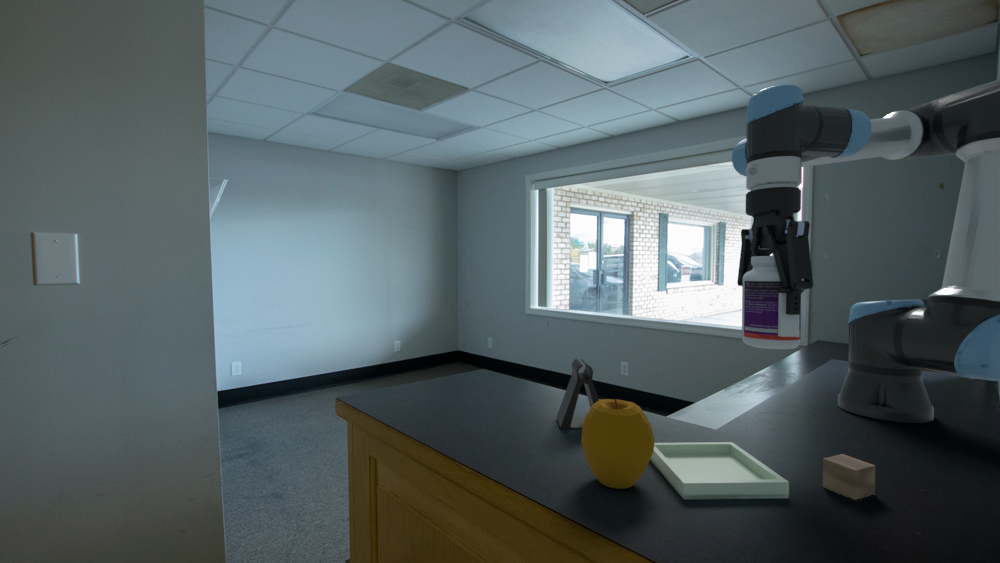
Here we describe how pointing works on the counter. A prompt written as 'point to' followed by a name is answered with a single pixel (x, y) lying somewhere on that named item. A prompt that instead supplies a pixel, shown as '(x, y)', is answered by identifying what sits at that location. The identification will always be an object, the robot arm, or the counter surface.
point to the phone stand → (576, 396)
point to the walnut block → (849, 476)
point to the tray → (716, 472)
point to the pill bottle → (763, 306)
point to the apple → (617, 442)
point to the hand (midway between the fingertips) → (770, 332)
